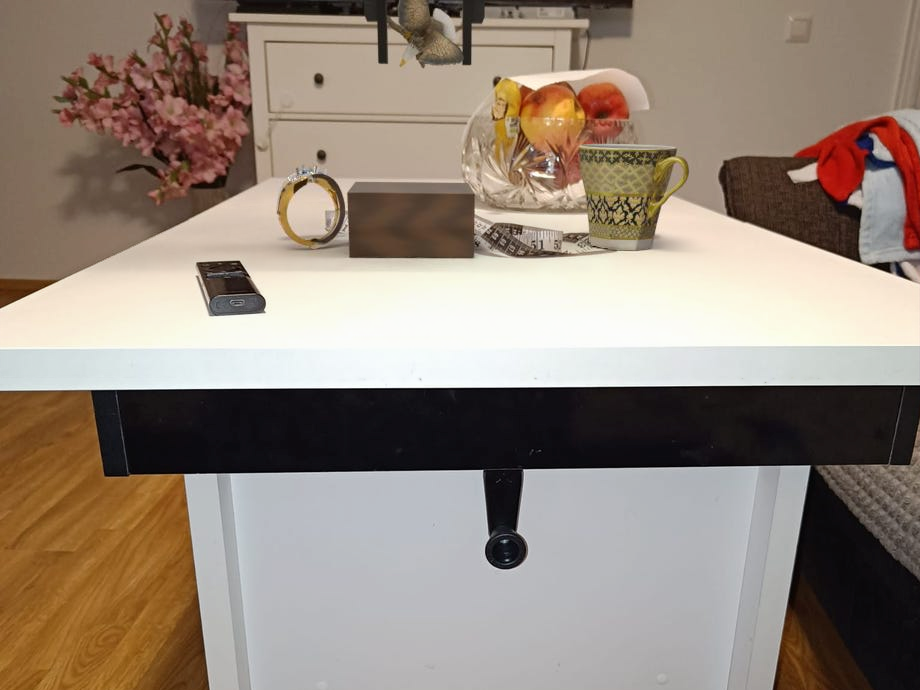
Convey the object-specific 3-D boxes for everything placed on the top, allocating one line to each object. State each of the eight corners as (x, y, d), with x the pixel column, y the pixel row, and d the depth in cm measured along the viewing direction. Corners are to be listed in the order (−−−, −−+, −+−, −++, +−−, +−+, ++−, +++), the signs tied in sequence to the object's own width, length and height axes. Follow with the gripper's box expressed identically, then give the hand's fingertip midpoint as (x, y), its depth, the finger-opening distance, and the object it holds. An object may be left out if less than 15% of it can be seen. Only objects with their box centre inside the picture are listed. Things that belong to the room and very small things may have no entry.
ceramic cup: (554, 243, 100) (558, 144, 96) (617, 236, 105) (624, 143, 102) (647, 260, 90) (655, 151, 87) (710, 251, 96) (721, 149, 93)
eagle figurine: (361, 53, 86) (378, 26, 78) (399, -15, 86) (420, -49, 77) (431, 101, 89) (454, 81, 80) (468, 35, 88) (495, 8, 80)
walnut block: (349, 257, 89) (347, 192, 87) (357, 239, 100) (355, 181, 98) (474, 257, 90) (474, 193, 88) (468, 240, 101) (468, 182, 99)
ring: (340, 244, 97) (336, 163, 94) (351, 248, 94) (348, 165, 91) (275, 248, 94) (269, 164, 91) (285, 252, 91) (279, 166, 88)
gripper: (293, -267, 71) (309, 60, 80) (549, -259, 72) (537, 64, 81) (306, -235, 78) (319, 63, 87) (539, -228, 79) (529, 67, 88)
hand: (425, 63), depth 84 cm, fingers closed on eagle figurine, 7 cm apart
